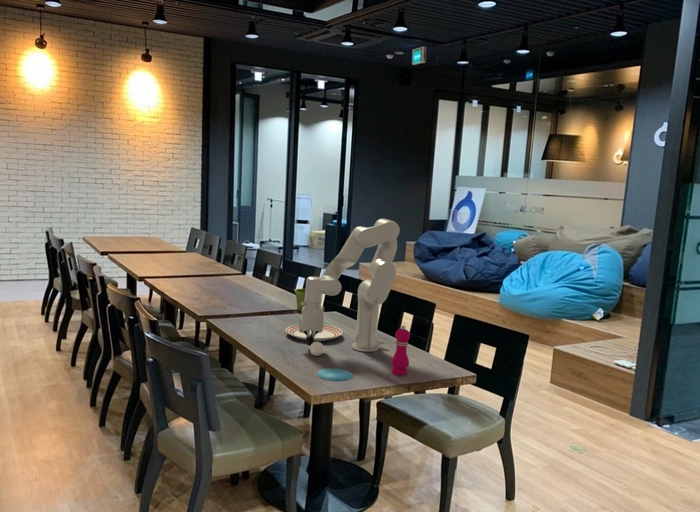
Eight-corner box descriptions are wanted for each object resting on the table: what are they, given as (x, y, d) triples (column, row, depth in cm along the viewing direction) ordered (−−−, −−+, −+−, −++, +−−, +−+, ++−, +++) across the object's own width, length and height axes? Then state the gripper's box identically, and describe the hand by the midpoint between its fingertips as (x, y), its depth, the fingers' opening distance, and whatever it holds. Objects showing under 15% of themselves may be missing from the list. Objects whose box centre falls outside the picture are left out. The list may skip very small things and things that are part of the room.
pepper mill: (406, 370, 249) (411, 323, 247) (409, 376, 242) (413, 328, 240) (389, 369, 249) (393, 322, 246) (391, 375, 242) (395, 327, 239)
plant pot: (290, 310, 340) (291, 291, 339) (297, 306, 352) (299, 287, 350) (309, 313, 337) (311, 293, 336) (317, 309, 348) (318, 290, 347)
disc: (345, 368, 247) (345, 367, 247) (357, 379, 234) (357, 379, 234) (312, 369, 242) (312, 369, 242) (323, 381, 229) (323, 381, 229)
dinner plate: (274, 337, 286) (274, 330, 286) (304, 326, 310) (305, 319, 310) (324, 348, 274) (324, 341, 273) (352, 336, 298) (352, 329, 297)
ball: (320, 353, 265) (321, 339, 264) (325, 357, 259) (325, 343, 259) (307, 353, 263) (308, 340, 262) (311, 357, 257) (312, 344, 257)
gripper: (298, 306, 261) (295, 347, 263) (331, 306, 266) (328, 347, 269) (294, 302, 268) (291, 342, 270) (326, 303, 273) (322, 342, 276)
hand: (309, 344), depth 270 cm, fingers closed
